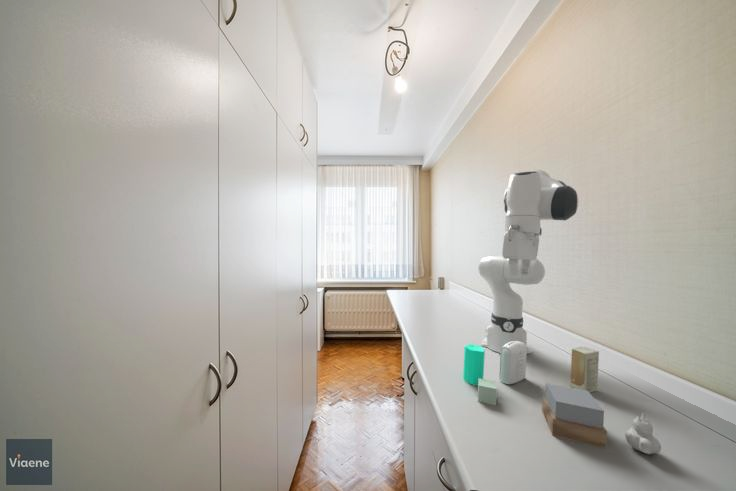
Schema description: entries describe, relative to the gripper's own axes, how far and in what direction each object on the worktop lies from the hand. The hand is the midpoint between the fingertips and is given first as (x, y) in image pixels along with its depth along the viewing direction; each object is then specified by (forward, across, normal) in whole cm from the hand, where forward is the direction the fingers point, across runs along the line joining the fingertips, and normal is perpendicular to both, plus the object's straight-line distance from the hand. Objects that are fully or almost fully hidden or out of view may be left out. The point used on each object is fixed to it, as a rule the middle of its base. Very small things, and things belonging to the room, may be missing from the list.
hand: (519, 275), depth 80 cm
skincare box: (+34, +22, -13) cm, 43 cm away
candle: (+35, +1, +12) cm, 37 cm away
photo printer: (+35, +11, +4) cm, 37 cm away
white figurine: (+35, -2, -26) cm, 44 cm away
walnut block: (+35, -4, -14) cm, 38 cm away
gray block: (+31, -4, -14) cm, 35 cm away
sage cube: (+35, -7, +5) cm, 36 cm away
